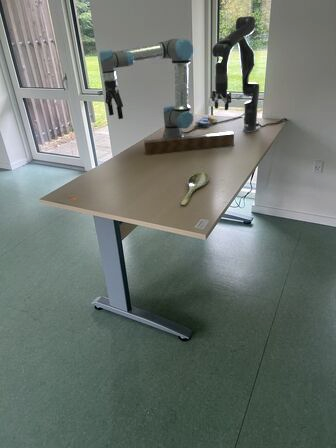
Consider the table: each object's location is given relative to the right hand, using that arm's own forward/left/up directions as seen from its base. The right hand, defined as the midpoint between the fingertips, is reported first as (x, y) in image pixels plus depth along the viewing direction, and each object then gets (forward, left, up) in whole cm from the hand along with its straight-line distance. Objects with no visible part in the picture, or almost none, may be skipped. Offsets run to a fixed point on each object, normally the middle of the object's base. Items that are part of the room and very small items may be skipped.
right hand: (221, 109), depth 209 cm
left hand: (+43, -50, +1) cm, 66 cm away
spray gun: (-46, -39, -25) cm, 65 cm away
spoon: (+63, +19, -25) cm, 70 cm away
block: (+11, -18, -25) cm, 33 cm away
